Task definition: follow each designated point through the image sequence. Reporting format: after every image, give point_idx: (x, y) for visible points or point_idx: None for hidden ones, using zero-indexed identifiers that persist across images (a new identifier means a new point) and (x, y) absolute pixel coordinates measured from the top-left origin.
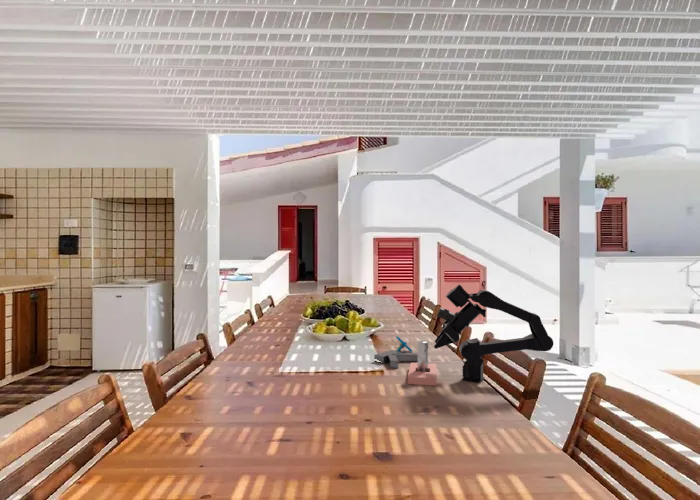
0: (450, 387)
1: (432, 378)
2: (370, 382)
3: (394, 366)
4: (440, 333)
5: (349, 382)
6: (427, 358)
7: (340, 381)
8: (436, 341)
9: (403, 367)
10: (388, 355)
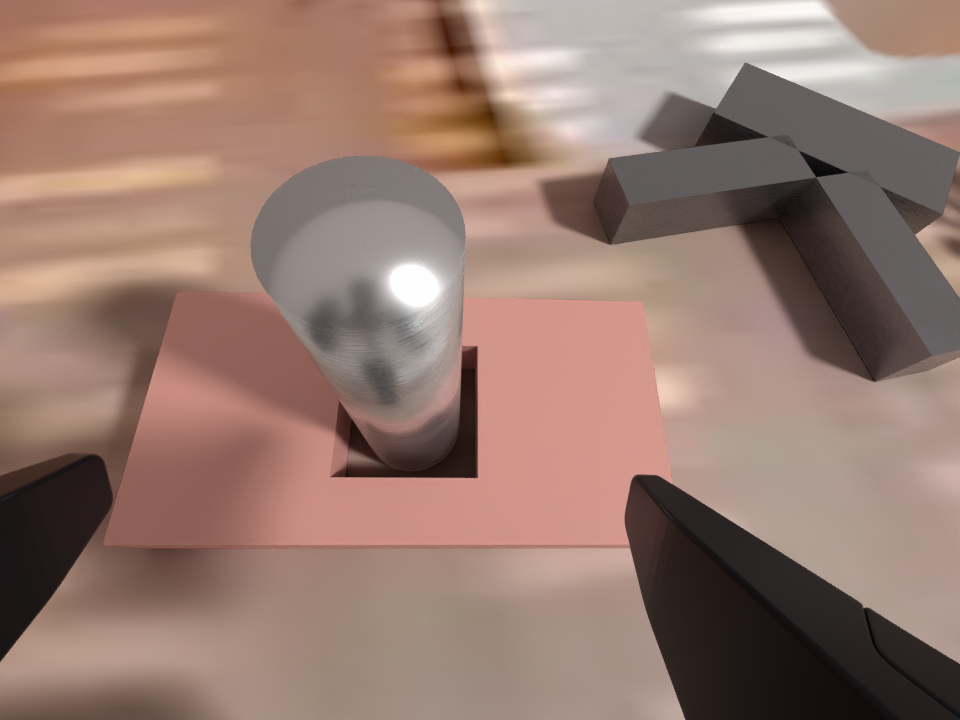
0: (72, 696)
1: (116, 503)
2: (241, 119)
3: (606, 214)
4: (804, 646)
5: (240, 37)
6: (355, 414)
7: (258, 4)
8: (636, 514)
9: (646, 277)
10: (766, 138)
